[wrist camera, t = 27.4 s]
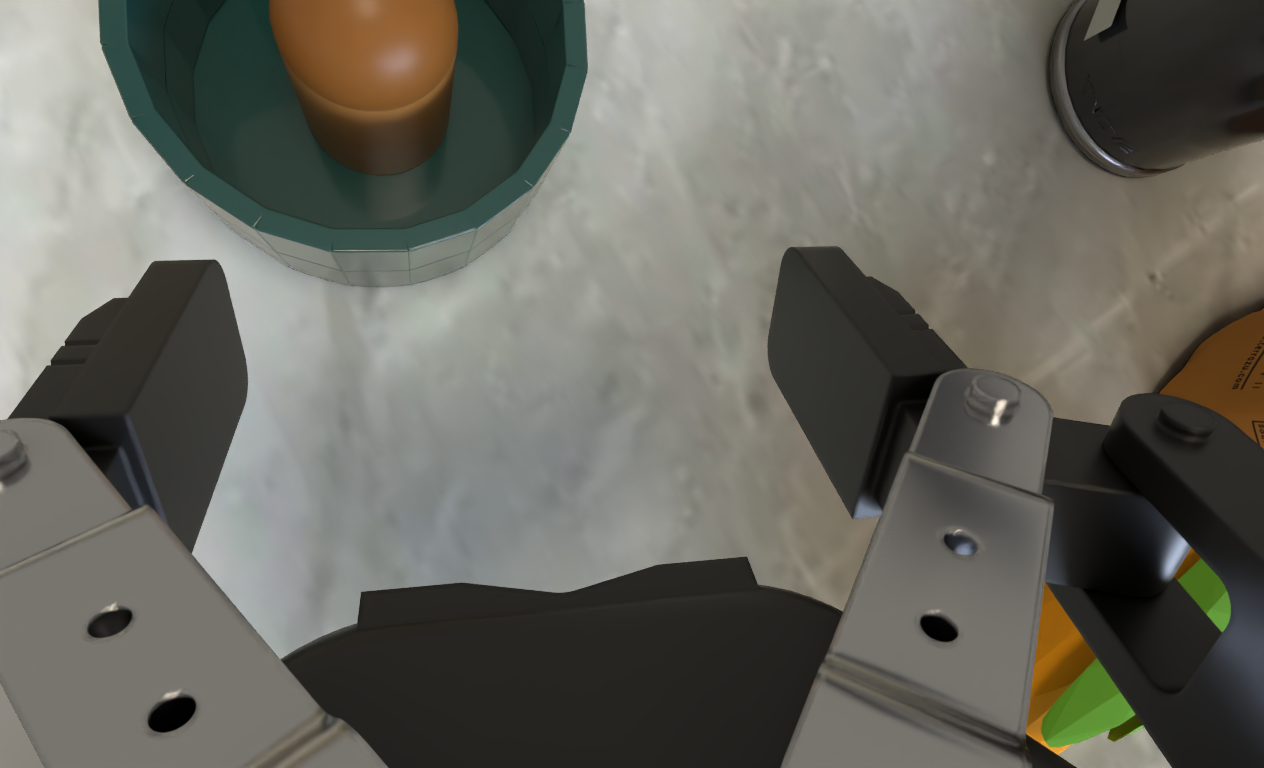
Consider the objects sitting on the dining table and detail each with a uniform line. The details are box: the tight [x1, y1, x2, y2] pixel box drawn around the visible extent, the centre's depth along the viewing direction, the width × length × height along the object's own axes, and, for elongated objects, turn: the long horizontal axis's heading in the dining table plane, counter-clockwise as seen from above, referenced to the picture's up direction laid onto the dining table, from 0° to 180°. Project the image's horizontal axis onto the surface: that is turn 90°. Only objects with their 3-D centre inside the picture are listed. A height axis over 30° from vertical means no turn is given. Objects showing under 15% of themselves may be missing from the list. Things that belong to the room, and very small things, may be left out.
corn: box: [1026, 548, 1231, 755], centre depth 34 cm, size 7×8×20 cm
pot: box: [98, 0, 588, 287], centre depth 27 cm, size 13×13×8 cm
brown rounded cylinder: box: [269, 0, 458, 175], centre depth 26 cm, size 5×5×10 cm
